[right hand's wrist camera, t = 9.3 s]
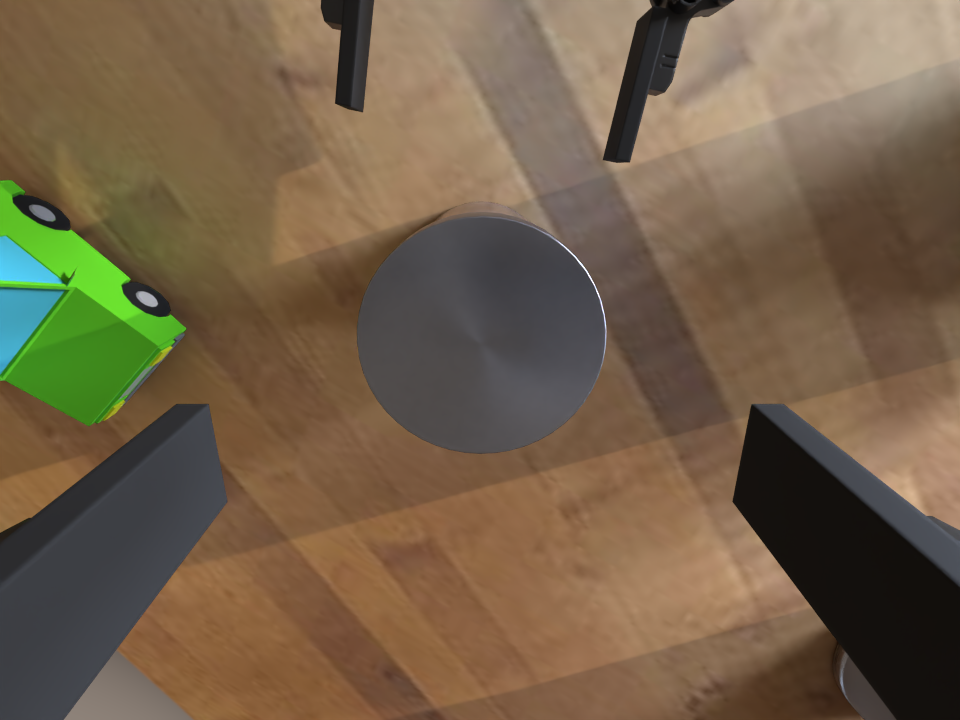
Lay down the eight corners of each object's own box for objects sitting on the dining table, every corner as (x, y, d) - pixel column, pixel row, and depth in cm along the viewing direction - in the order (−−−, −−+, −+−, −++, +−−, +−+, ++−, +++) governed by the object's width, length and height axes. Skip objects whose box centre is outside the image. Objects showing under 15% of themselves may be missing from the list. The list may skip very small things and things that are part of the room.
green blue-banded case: (128, 410, 38) (14, 489, 29) (-44, 281, 35) (-234, 323, 26) (212, 316, 36) (117, 368, 27) (35, 167, 33) (-143, 167, 23)
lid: (637, 270, 21) (652, 279, 20) (535, 461, 24) (540, 485, 23) (415, 170, 20) (408, 170, 18) (336, 385, 23) (324, 404, 21)
